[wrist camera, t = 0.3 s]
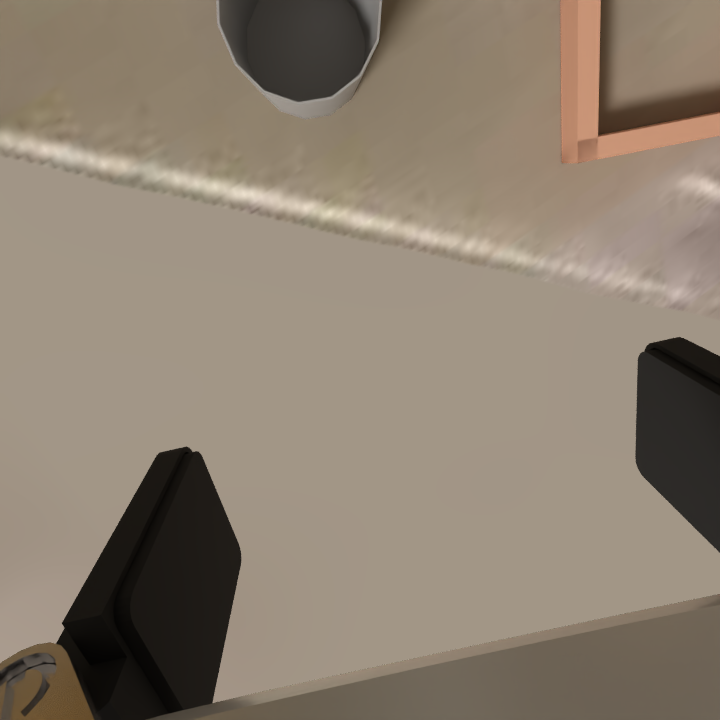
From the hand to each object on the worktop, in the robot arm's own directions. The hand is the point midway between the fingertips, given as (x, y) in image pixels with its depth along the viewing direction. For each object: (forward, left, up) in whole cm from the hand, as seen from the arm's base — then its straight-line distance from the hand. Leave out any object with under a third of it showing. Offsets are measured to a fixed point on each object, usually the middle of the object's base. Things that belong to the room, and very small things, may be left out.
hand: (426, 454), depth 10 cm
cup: (-13, -1, -31) cm, 34 cm away
